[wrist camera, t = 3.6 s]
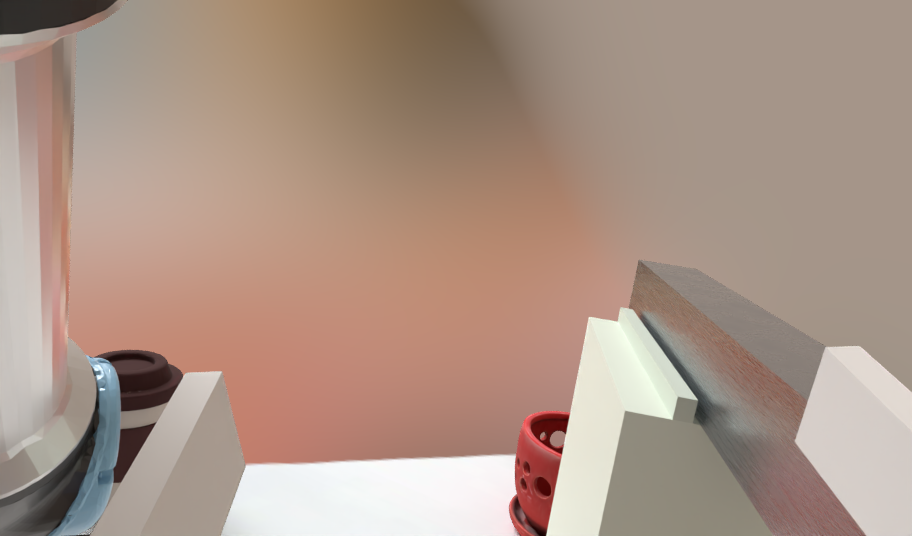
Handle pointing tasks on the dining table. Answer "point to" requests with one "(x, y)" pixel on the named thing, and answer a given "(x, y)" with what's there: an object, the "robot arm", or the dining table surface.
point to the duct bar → (744, 391)
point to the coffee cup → (139, 401)
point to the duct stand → (641, 448)
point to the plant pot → (536, 472)
